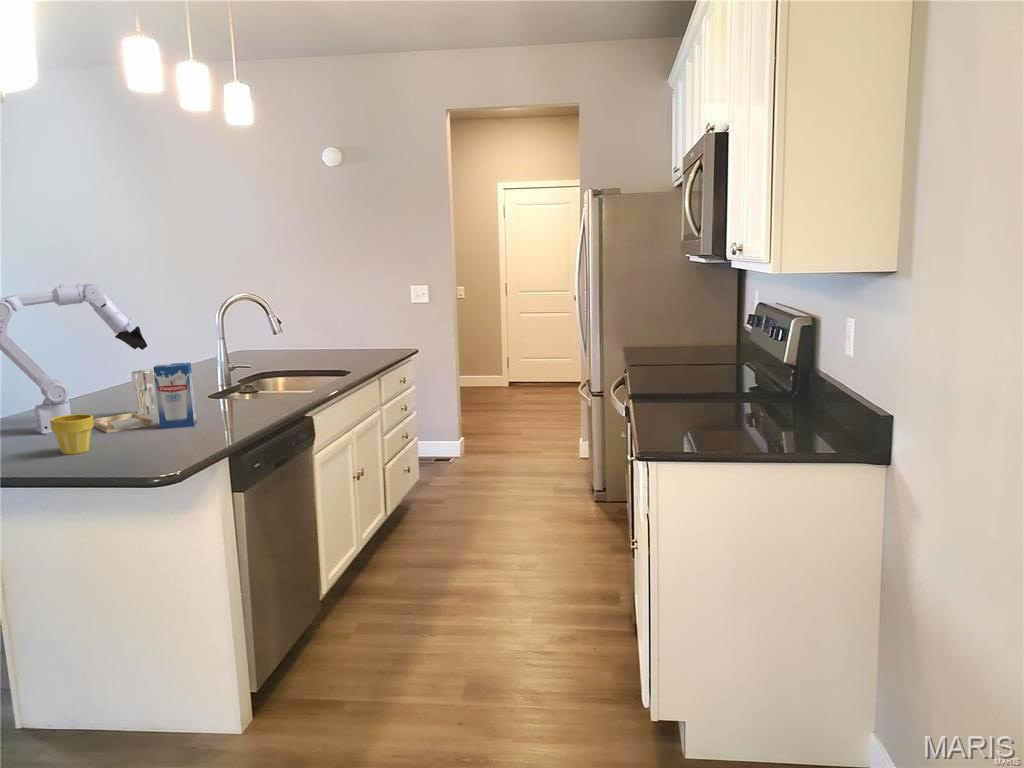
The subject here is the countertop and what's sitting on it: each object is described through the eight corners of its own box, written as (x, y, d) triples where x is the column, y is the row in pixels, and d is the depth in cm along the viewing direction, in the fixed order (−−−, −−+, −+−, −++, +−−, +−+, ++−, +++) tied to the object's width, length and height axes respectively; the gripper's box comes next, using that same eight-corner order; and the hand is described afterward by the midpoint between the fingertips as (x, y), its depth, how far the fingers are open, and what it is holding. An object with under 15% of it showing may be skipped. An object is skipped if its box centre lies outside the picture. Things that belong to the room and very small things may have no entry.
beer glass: (134, 417, 253) (129, 373, 251) (136, 413, 260) (131, 370, 257) (157, 415, 256) (152, 371, 253) (158, 411, 262) (153, 369, 260)
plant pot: (104, 445, 216) (99, 412, 215) (85, 455, 206) (80, 420, 205) (67, 447, 216) (62, 413, 214) (46, 457, 206) (41, 422, 204)
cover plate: (114, 430, 233) (114, 425, 233) (107, 426, 238) (107, 422, 238) (141, 425, 238) (141, 420, 238) (134, 422, 243) (133, 417, 243)
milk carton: (160, 431, 233) (153, 367, 229) (163, 426, 239) (156, 364, 235) (194, 428, 236) (188, 365, 232) (197, 423, 242) (191, 362, 238)
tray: (107, 434, 230) (106, 427, 230) (90, 426, 242) (89, 419, 241) (153, 426, 239) (152, 419, 239) (135, 419, 251) (134, 412, 251)
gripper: (128, 307, 240) (158, 340, 246) (115, 308, 250) (143, 339, 257) (110, 321, 236) (140, 354, 243) (97, 321, 247) (126, 353, 253)
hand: (141, 347), depth 250 cm, fingers open, 7 cm apart
